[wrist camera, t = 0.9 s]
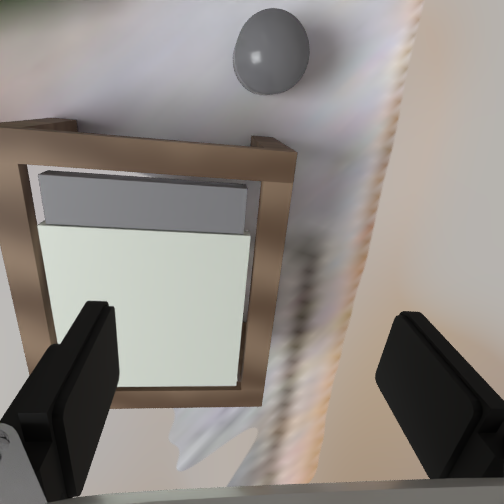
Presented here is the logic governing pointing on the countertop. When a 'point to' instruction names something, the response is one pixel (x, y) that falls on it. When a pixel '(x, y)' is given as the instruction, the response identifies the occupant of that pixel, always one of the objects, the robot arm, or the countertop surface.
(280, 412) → the countertop surface
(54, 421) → the robot arm
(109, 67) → the countertop surface
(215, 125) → the countertop surface
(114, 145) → the trapdoor frame
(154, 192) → the trapdoor
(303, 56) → the metal canister
